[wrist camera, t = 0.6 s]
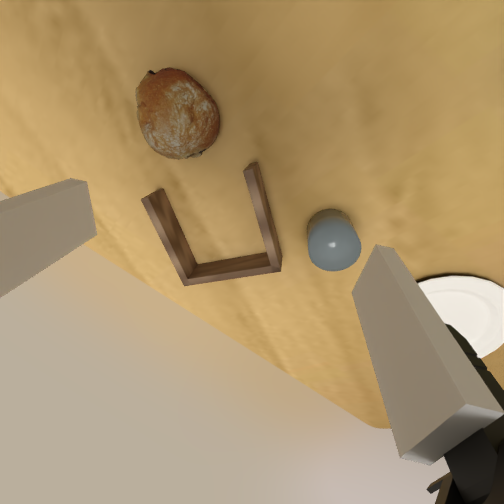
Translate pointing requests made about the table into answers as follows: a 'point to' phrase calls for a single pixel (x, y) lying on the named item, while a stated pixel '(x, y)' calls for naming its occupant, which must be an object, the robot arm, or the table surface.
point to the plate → (469, 309)
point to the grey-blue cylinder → (332, 240)
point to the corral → (222, 269)
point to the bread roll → (176, 114)
